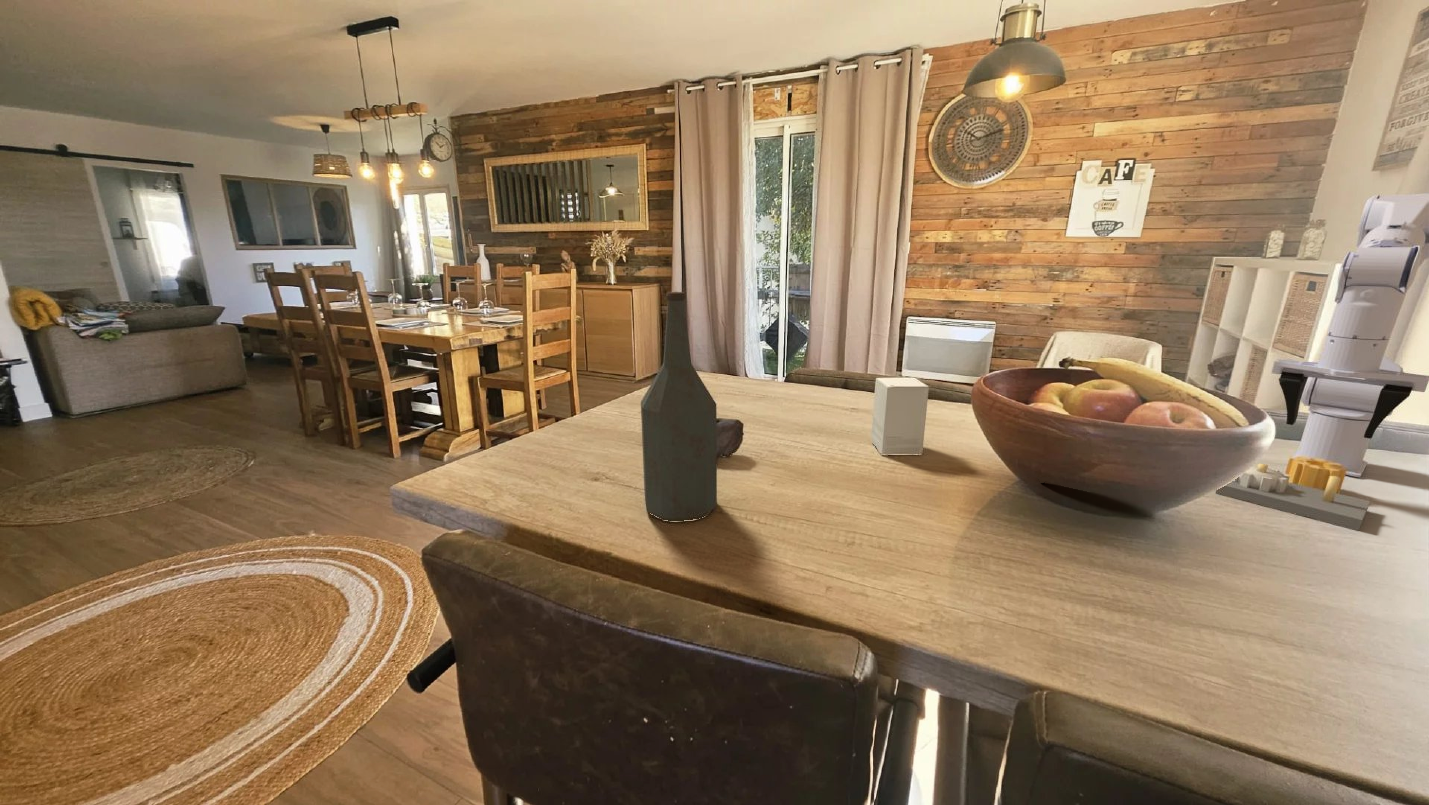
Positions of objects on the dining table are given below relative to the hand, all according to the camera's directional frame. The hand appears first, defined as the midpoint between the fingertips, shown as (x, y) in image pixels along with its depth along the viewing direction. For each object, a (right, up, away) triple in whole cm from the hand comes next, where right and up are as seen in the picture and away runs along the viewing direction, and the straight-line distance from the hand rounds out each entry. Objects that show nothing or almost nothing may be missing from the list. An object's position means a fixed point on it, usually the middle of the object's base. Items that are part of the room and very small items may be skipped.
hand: (1327, 429), depth 80 cm
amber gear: (0, -9, +3) cm, 9 cm away
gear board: (-7, -10, -2) cm, 13 cm away
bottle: (-94, -11, -2) cm, 95 cm away
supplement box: (-56, -5, +20) cm, 60 cm away
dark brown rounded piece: (-92, -6, +18) cm, 94 cm away
